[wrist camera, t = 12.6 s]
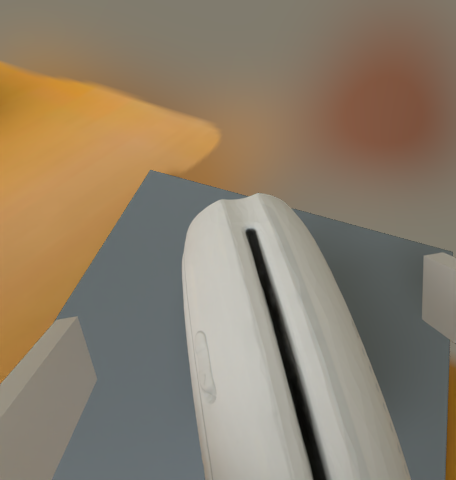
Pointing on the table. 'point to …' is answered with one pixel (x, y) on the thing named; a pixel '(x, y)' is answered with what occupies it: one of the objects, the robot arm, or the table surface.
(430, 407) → the slate board
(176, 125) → the table surface
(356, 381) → the photo printer
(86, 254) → the table surface
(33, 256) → the table surface
